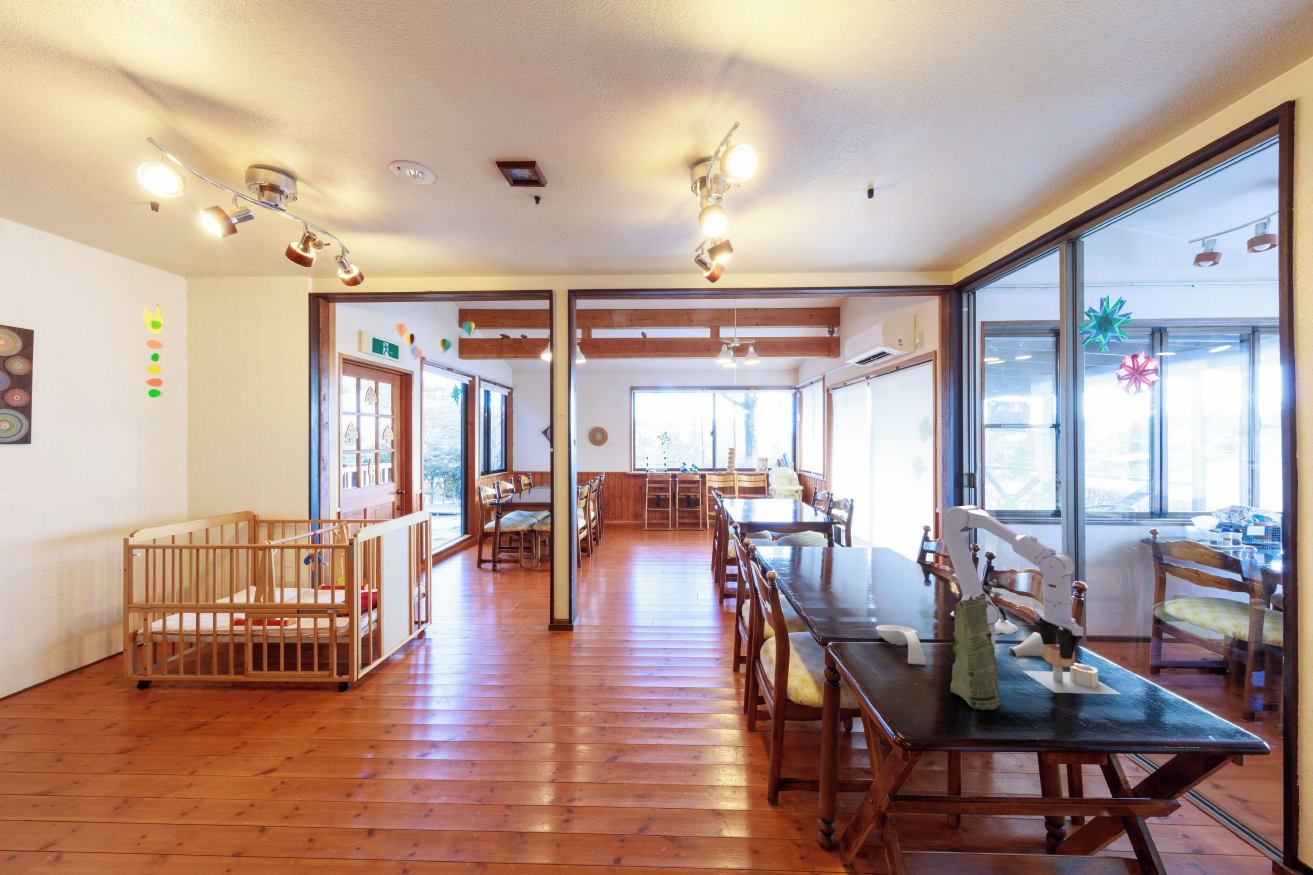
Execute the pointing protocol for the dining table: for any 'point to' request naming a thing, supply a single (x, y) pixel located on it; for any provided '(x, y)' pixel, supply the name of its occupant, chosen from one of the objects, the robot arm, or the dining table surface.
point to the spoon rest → (904, 641)
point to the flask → (1029, 646)
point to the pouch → (974, 655)
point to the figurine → (1002, 623)
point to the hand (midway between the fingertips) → (1057, 653)
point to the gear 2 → (1084, 675)
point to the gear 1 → (1056, 656)
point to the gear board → (1067, 682)
